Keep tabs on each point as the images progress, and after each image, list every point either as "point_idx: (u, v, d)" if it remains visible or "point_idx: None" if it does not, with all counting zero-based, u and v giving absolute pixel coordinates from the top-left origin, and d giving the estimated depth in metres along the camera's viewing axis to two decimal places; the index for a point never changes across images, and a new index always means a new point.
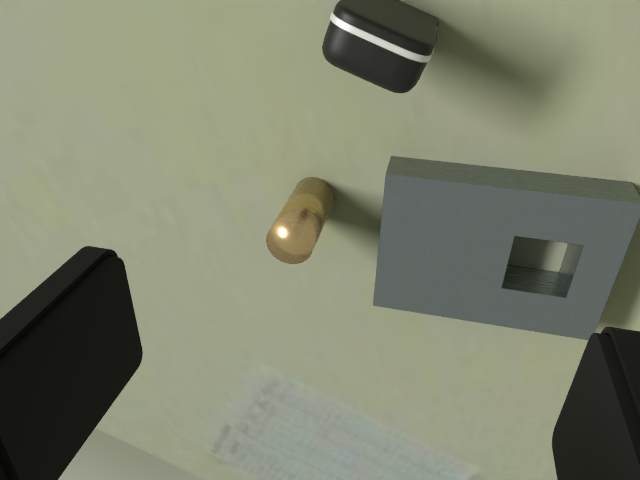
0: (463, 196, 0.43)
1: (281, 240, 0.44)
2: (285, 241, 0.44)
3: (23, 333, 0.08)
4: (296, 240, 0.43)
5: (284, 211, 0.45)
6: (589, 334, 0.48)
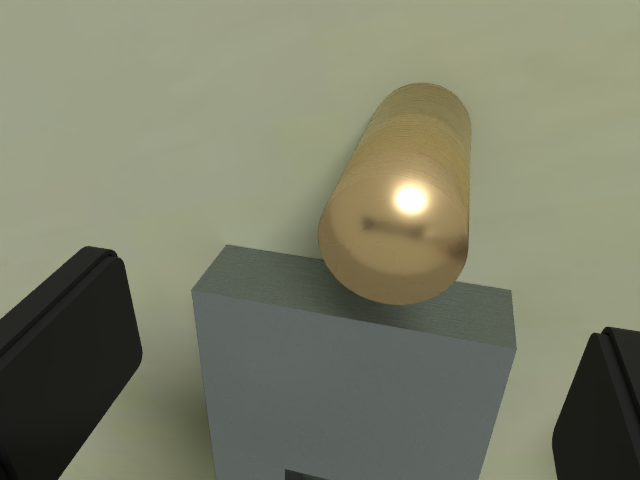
0: (459, 449, 0.25)
1: (401, 223, 0.14)
2: (400, 236, 0.14)
3: (23, 333, 0.08)
4: (403, 265, 0.14)
5: (463, 180, 0.15)
6: None
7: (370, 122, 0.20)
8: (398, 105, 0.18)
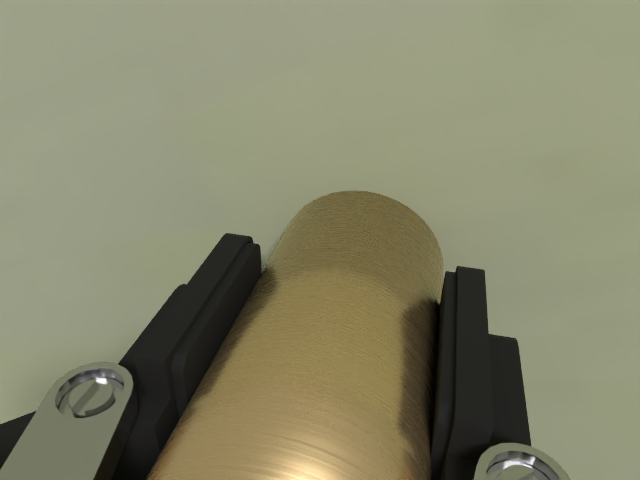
0: None
1: None
2: None
3: (200, 312, 0.09)
4: None
5: None
6: None
7: (263, 270, 0.11)
8: (302, 257, 0.10)
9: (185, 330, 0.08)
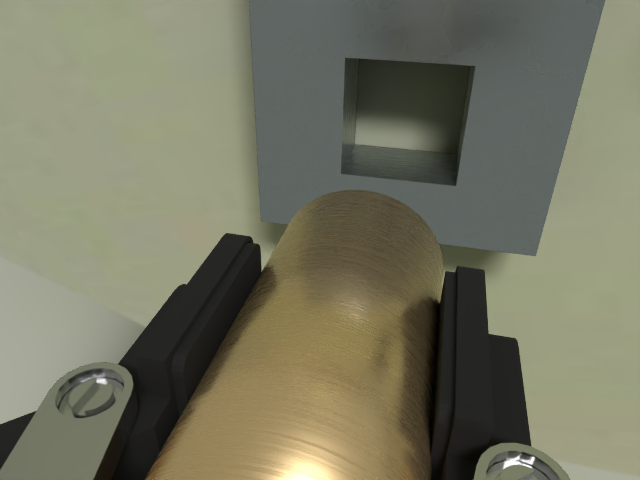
0: None
1: None
2: None
3: (200, 311, 0.09)
4: None
5: None
6: (272, 217, 0.28)
7: (263, 269, 0.11)
8: (302, 256, 0.10)
9: (185, 330, 0.08)
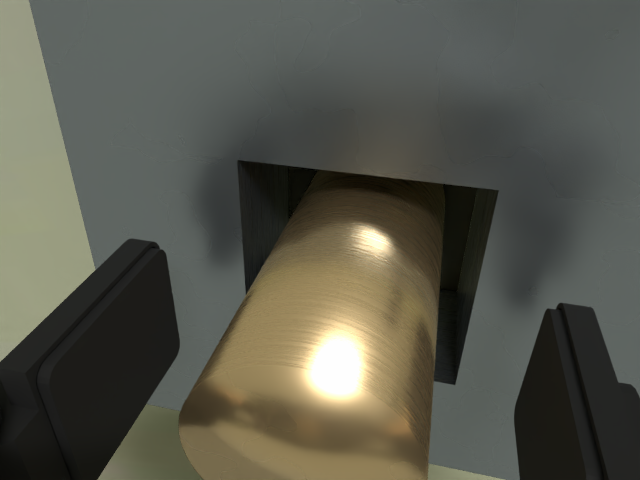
0: None
1: (311, 435, 0.08)
2: (311, 452, 0.08)
3: (80, 321, 0.09)
4: None
5: (423, 331, 0.09)
6: None
7: None
8: (335, 182, 0.13)
9: (57, 340, 0.08)
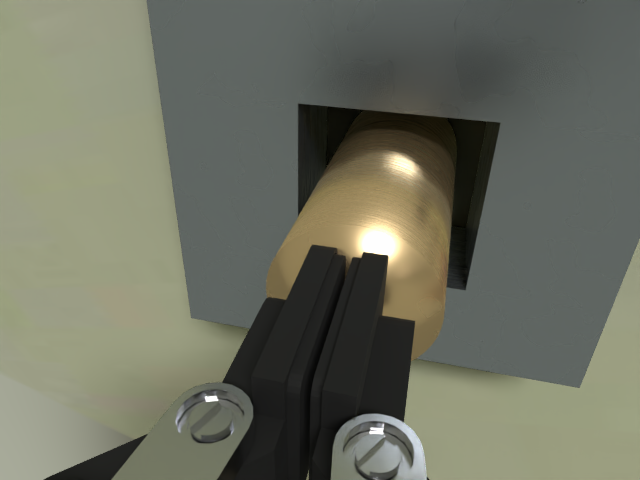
0: None
1: None
2: None
3: (306, 328, 0.09)
4: None
5: (441, 222, 0.13)
6: (206, 313, 0.20)
7: None
8: (371, 125, 0.16)
9: (296, 348, 0.08)
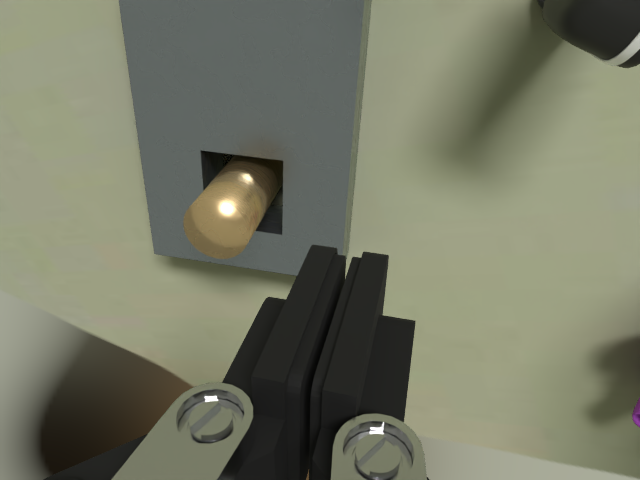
0: (336, 91, 0.30)
1: (218, 220, 0.30)
2: (219, 226, 0.31)
3: (306, 328, 0.09)
4: (222, 239, 0.31)
5: (254, 200, 0.32)
6: (162, 251, 0.39)
7: None
8: (236, 158, 0.35)
9: (296, 348, 0.08)
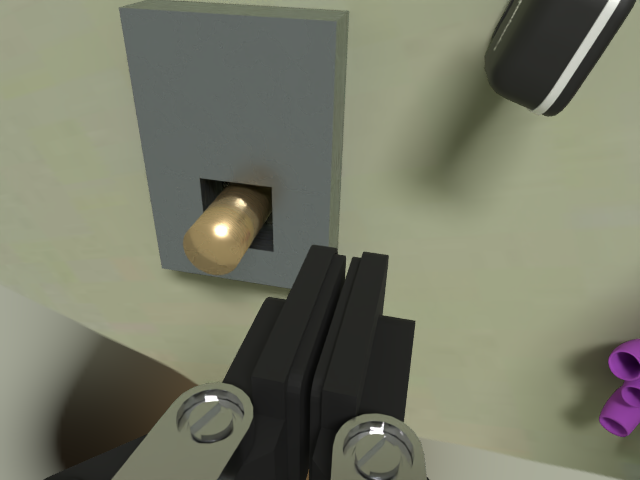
0: (315, 127, 0.34)
1: (213, 242, 0.35)
2: (213, 247, 0.35)
3: (306, 328, 0.09)
4: (217, 258, 0.35)
5: (246, 223, 0.36)
6: (168, 265, 0.43)
7: None
8: (232, 184, 0.39)
9: (297, 348, 0.08)
